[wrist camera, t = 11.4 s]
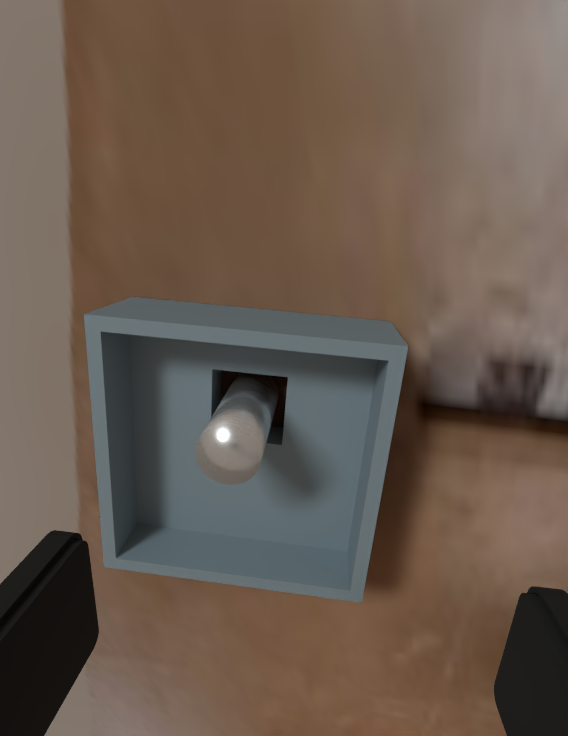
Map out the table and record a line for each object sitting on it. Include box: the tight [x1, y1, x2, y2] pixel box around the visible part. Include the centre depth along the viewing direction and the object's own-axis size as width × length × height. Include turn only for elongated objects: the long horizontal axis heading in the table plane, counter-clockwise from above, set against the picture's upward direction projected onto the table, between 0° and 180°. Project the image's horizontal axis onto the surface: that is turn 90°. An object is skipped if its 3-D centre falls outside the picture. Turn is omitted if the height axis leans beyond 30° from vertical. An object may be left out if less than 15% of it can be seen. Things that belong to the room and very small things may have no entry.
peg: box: [195, 372, 279, 485], centre depth 29 cm, size 4×4×10 cm
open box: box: [84, 297, 408, 603], centre depth 32 cm, size 20×20×7 cm
